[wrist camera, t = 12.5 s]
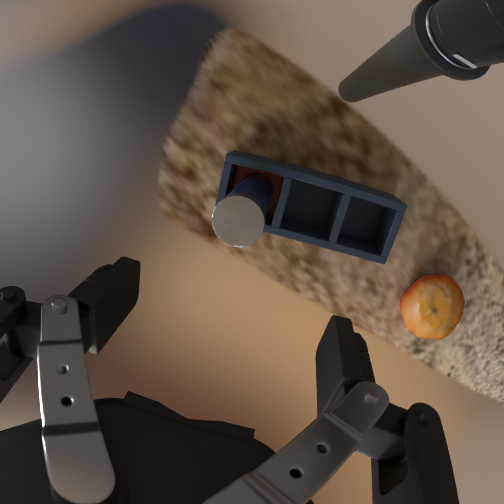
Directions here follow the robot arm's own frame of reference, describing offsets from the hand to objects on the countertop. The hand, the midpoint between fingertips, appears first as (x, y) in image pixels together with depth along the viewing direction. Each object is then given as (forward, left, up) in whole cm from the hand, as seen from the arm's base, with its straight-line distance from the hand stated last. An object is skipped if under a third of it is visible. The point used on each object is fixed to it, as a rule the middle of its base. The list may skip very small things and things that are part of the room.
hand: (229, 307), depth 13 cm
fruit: (+7, +22, -24) cm, 33 cm away
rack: (0, +4, -24) cm, 24 cm away
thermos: (0, -1, -23) cm, 23 cm away
